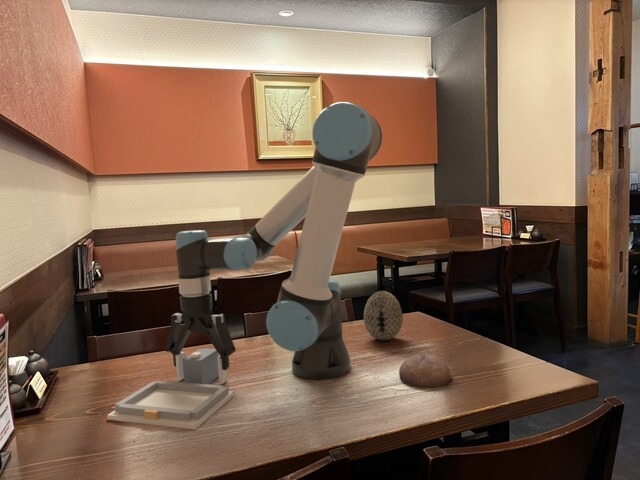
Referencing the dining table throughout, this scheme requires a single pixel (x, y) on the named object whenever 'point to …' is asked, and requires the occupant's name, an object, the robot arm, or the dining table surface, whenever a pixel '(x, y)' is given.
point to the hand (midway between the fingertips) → (202, 380)
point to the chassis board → (172, 404)
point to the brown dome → (424, 371)
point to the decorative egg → (383, 316)
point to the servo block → (201, 366)
